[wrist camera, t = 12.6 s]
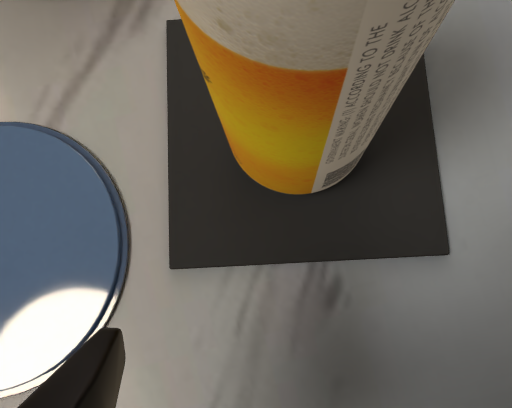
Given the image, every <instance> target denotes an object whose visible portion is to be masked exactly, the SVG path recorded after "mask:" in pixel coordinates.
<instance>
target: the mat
mask: <svg viewBox="0 0 512 408" xmlns="http://www.w3.org/2000/svg"><path fill="white" fill-rule="evenodd" d="M167 101H168V183H169V265H170V269H188V268H207V267H226V266H245V265H264V264H284V263H303V262H322V261H341V260H360V259H379V258H398V257H418V256H437V255H448V254H449V246H448V238H447V231H446V223H445V215H444V207H443V200H442V192H441V184H440V177H439V169H438V161H437V153H436V146H435V138H434V130H433V123H432V115H431V107H430V100H429V92H428V84H427V76H426V69H425V61H424V53H423V54H422V56H421V58H420V59H419V61H418V63H417V64H416V66H415V68H414V69H413V71H412V73H411V74H410V76H409V78H408V79H407V81H406V83H405V84H404V86H403V88H402V90H401V91H400V93H399V95H398V96H397V98H396V100H395V101H394V103H393V105H392V106H391V108H390V110H389V111H388V113H387V115H386V116H385V118H384V120H383V121H382V123H381V125H380V126H379V128H378V130H377V131H376V133H375V135H374V136H373V138H372V140H371V141H370V143H369V145H368V146H367V148H366V150H365V151H364V153H363V155H362V156H361V158H360V160H359V161H358V163H357V164H356V166H355V167H354V168H353V170H352V171H351V172H350V173H349V174H348V175H347V176H346V177H344V178H343V179H342V180H341V181H339V182H338V183H336V184H335V185H333V186H331V187H329V188H327V189H324V190H321V191H318V192H314V193H309V194H286V193H281V192H277V191H274V190H271V189H269V188H267V187H265V186H262V185H261V184H259V183H258V182H256V181H255V180H253V179H252V178H251V177H250V176H249V175H248V174H247V173H246V172H245V171H244V170H243V169H242V168H241V166H240V165H239V164H238V162H237V160H236V159H235V157H234V155H233V152H232V150H231V147H230V145H229V142H228V139H227V137H226V134H225V132H224V129H223V126H222V124H221V121H220V118H219V116H218V113H217V111H216V108H215V105H214V103H213V100H212V98H211V95H210V92H209V90H208V87H207V84H206V82H205V79H204V77H203V74H202V71H201V69H200V66H199V63H198V61H197V58H196V56H195V53H194V50H193V48H192V45H191V43H190V40H189V37H188V35H187V32H186V29H185V27H184V24H183V22H182V19H179V20H167Z"/></svg>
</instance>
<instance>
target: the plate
mask: <svg viewBox="0 0 512 408" xmlns="http://www.w3.org/2000/svg"><path fill="white" fill-rule="evenodd" d="M128 251H129V240H128V226H127V221H126V216H125V211H124V208H123V205H122V202H121V199H120V196H119V193H118V191H117V189H116V187H115V185H114V183H113V181H112V179H111V178H110V176H109V175H108V174H107V172H106V171H105V169H104V168H103V166H102V165H101V164H100V163H99V162H98V161H97V160H96V159H95V158H94V156H93V155H92V154H91V153H89V152H88V151H87V150H86V149H85V148H83V147H82V146H81V145H80V144H78V143H77V142H75V141H74V140H72V139H70V138H69V137H67V136H65V135H63V134H61V133H59V132H56V131H54V130H52V129H49V128H46V127H42V126H39V125H35V124H29V123H21V122H0V398H4V397H8V396H12V395H16V394H20V393H22V392H25V391H27V390H30V389H32V388H35V387H37V386H40V385H42V384H43V383H44V382H45V381H46V380H47V379H48V378H49V377H50V376H51V375H52V374H53V373H54V372H55V371H56V370H57V369H58V368H59V367H60V366H61V365H62V364H64V363H65V362H66V361H67V360H68V359H69V358H70V357H71V356H72V355H73V354H74V353H75V352H76V351H77V350H78V349H79V348H80V347H81V346H82V345H83V344H84V343H85V342H86V341H88V340H89V339H90V338H91V337H92V336H93V335H94V334H95V333H96V332H97V331H98V330H99V329H101V328H104V327H105V325H106V324H107V322H108V320H109V319H110V317H111V315H112V312H113V310H114V308H115V306H116V304H117V302H118V299H119V296H120V293H121V290H122V287H123V284H124V280H125V275H126V270H127V265H128Z"/></svg>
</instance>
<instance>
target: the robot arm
mask: <svg viewBox="0 0 512 408" xmlns="http://www.w3.org/2000/svg"><path fill="white" fill-rule="evenodd" d="M124 366H125V349H124V342H123V335H122V331H121V330H120V329H118V328H101V329H99V330H98V331H97V332H96V333H95V334H94V335H93V336H92V337H91V338H90V339H89V340H88V341H86V342H85V343H84V344H83V345H82V346H81V347H80V348H79V349H78V350H77V351H76V352H75V353H74V354H73V355H72V356H71V357H70V358H69V359H68V360H67V361H66V362H65V363H64V364H62V365H61V366H60V367H59V368H58V369H57V370H56V371H55V372H54V373H53V374H52V375H51V376H50V377H49V378H48V379H47V380H46V381H45V382H44V383H43V384H42V385H41V386H40V387H38V388H37V389H36V390H35V391H34V392H33V393H32V394H31V395H30V396H29V397H28V398H27V399H26V400H25V401H24V402H23V403H22V404H21V405H20V406H19V407H18V408H115V407H116V402H117V398H118V393H119V389H120V384H121V380H122V375H123V370H124Z"/></svg>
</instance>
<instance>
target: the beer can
mask: <svg viewBox="0 0 512 408" xmlns="http://www.w3.org/2000/svg"><path fill="white" fill-rule="evenodd" d="M174 1H175V3H176V6H177V8H178V11H179V14H180V16H181V19H182V22H183V24H184V27H185V29H186V32H187V35H188V37H189V40H190V43H191V45H192V48H193V50H194V53H195V56H196V58H197V61H198V63H199V66H200V69H201V71H202V74H203V77H204V79H205V82H206V84H207V87H208V90H209V92H210V95H211V98H212V100H213V103H214V105H215V108H216V111H217V113H218V116H219V118H220V121H221V124H222V126H223V129H224V132H225V134H226V137H227V139H228V142H229V145H230V147H231V150H232V152H233V155H234V157H235V159H236V160H237V162H238V164H239V165H240V166H241V168H242V169H243V170H244V171H245V172H246V173H247V174H248V175H249V176H250V177H251V178H252V179H253V180H255V181H256V182H258V183H259V184H261V185H262V186H265V187H267V188H269V189H271V190H274V191H277V192H281V193H286V194H309V193H314V192H318V191H321V190H324V189H327V188H329V187H331V186H333V185H335V184H336V183H338V182H339V181H341V180H342V179H343V178H344V177H346V176H347V175H348V174H349V173H350V172H351V171H352V170H353V168H354V167H355V166H356V164H357V163H358V161H359V160H360V158H361V156H362V155H363V153H364V151H365V150H366V148H367V146H368V145H369V143H370V141H371V140H372V138H373V136H374V135H375V133H376V131H377V130H378V128H379V126H380V125H381V123H382V121H383V120H384V118H385V116H386V115H387V113H388V111H389V110H390V108H391V106H392V105H393V103H394V101H395V100H396V98H397V96H398V95H399V93H400V91H401V90H402V88H403V86H404V84H405V83H406V81H407V79H408V78H409V76H410V74H411V73H412V71H413V69H414V68H415V66H416V64H417V63H418V61H419V59H420V58H421V56H422V54H423V53H424V51H425V49H426V48H427V46H428V44H429V43H430V41H431V39H432V38H433V36H434V34H435V33H436V31H437V29H438V28H439V26H440V24H441V23H442V21H443V19H444V18H445V16H446V14H447V13H448V11H449V9H450V8H451V6H452V4H453V3H454V1H455V0H174Z"/></svg>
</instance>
